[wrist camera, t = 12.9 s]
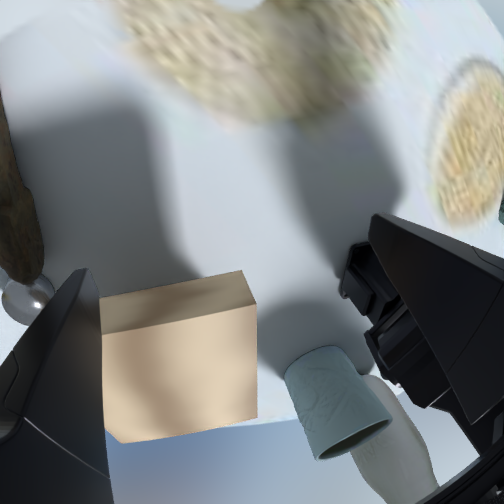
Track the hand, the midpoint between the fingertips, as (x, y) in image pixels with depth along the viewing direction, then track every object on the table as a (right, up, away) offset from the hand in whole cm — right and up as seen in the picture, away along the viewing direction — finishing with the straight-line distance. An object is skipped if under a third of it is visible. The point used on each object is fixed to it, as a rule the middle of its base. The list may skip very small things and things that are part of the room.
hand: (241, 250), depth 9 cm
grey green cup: (+9, -15, +30) cm, 34 cm away
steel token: (-17, -3, +11) cm, 21 cm away
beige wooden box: (-7, -3, +15) cm, 17 cm away
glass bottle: (+16, -21, +38) cm, 46 cm away
